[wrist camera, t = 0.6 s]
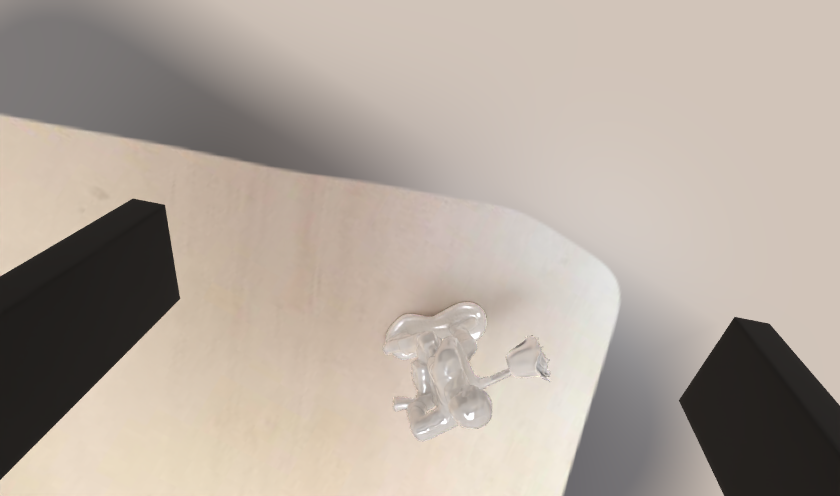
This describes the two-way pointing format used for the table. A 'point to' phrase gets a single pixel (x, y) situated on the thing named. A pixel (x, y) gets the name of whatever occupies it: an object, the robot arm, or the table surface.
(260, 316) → the table surface
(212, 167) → the table surface
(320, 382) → the table surface
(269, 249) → the table surface
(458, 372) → the figurine
